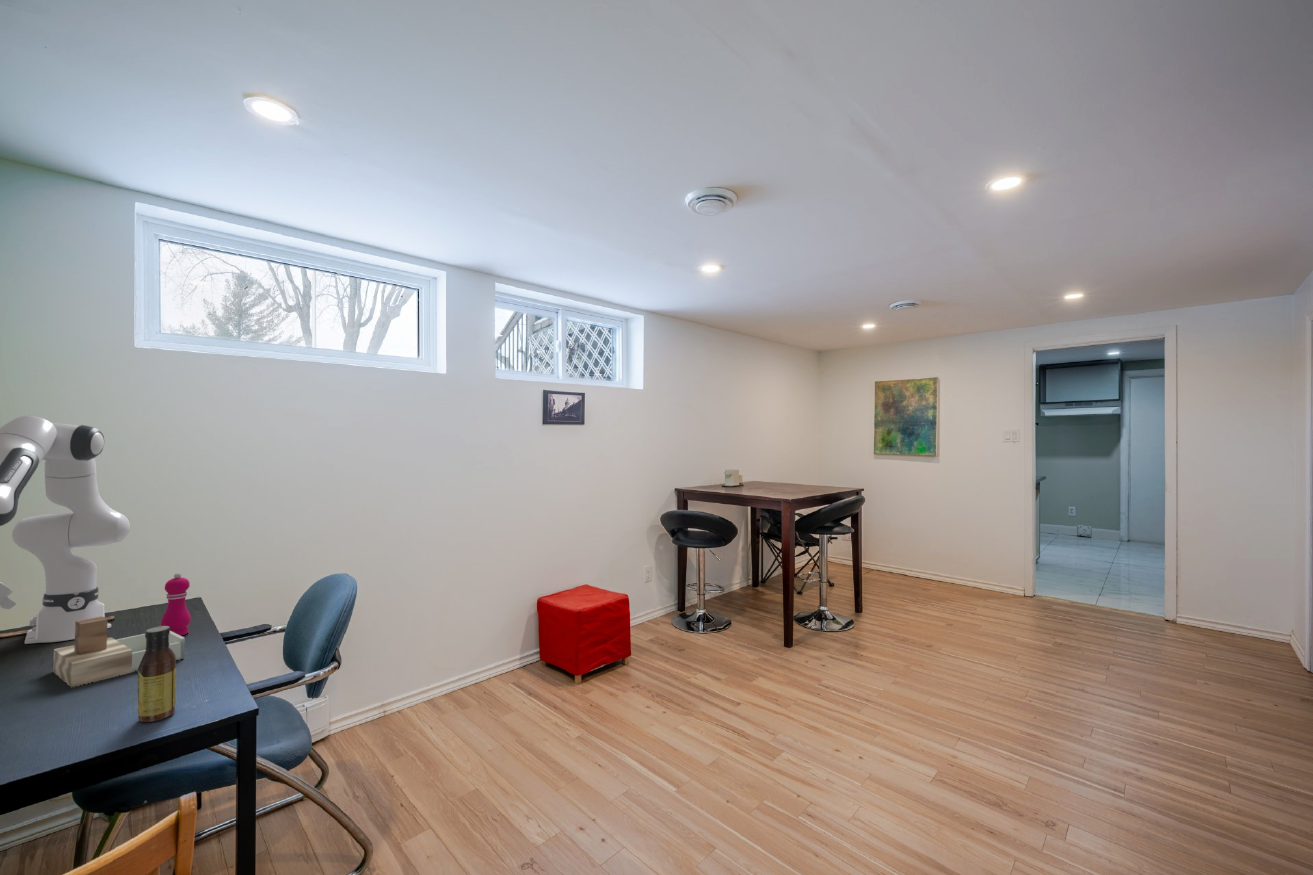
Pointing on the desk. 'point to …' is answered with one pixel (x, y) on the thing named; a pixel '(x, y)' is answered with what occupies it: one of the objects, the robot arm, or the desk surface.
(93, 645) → the walnut block
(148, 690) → the sauce bottle
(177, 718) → the desk surface
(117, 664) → the beige box sleeve
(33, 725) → the desk surface
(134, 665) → the tray
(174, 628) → the pepper mill
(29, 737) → the desk surface
